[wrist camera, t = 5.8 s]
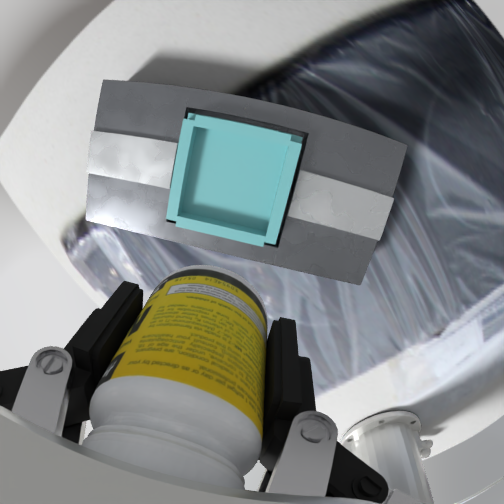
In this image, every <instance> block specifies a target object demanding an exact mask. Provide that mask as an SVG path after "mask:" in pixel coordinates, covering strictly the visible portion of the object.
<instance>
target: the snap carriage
mask: <svg viewBox="0 0 504 504" xmlns="http://www.w3.org/2000/svg"><path fill="white" fill-rule="evenodd" d="M302 138H303V137H301V136H297V135H293V134H289V133H285V132H281V131H277V130H273V129H269V128H264V127H260V126H255V125H251V124H246V123H242V122H237V121H232V120H227V119H222V118H216V117H211V116H205V115H200V114H193V113H189V114H188V118H187V119H183V123H182V128H181V133H180V138H179V143H178V149H177V154H176V160H175V165H174V171H173V177H172V183H171V189H170V195H169V202H168V209H167V216H166V219H169V220H173V221H176V227H181V228H185V229H189V230H193V231H198V232H202V233H206V234H210V235H215V236H219V237H223V238H227V239H232V240H236V241H240V242H244V243H248V244H253V245H257V246H261V247H263V245H264V242H266V243H271V244H276V240H277V237H278V233H279V229H280V225H281V222H282V218H283V214H284V211H285V207H286V203H287V199H288V196H289V192H290V188H291V184H292V181H293V177H294V173H295V169H296V165H297V161H298V158H299V154H300V150H301V146H302V144H301V142H302Z"/></svg>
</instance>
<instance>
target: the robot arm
mask: <svg viewBox="0 0 504 504" xmlns="http://www.w3.org/2000/svg"><path fill="white" fill-rule="evenodd" d="M142 309H143V290H142V289H139V285H138V284H134V283H131V282H127V281H124V282H123V283H122V284H121V285H120V286H119V287H118V289H117V290H116V291H115V292H114V293H113V295H112V296H111V297H110V298H109V300H108V301H107V302H106V303H105V305H104V306H103V307H102V308H101V309H99V308H97V309H95V310H94V311H93V312H92V314H91V315H90V316H89V318H87V320H86V321H85V322H84V323H83V325H82V326H81V327H80V328H79V330H78V331H77V332H76V334H75V335H74V336H73V338H72V339H71V340H70V341H69V343H68V344H67V345H66V347H65V348H64V349H63V348H59V347H53V346H50V347H44V348H42V349H40V350H38V351H37V352H36V353H35V354H34V355H33V357H32V359H31V361H30V363H29V366H25V367H20V368H14V369H9V370H5V371H0V504H434V501H433V497H432V494H431V490H430V487H429V483H428V480H427V476H426V473H425V469H424V466H423V463H422V459H421V458H427V457H429V455H430V452H431V450H430V448H431V447H432V445H433V441H432V440H424V441H422V440H421V439H420V436H419V433H420V431H421V423H420V420H419V418H418V417H417V416H416V415H415V414H413V413H411V412H407V411H391V412H386V413H381V414H378V415H375V416H372V417H370V418H367V419H365V420H363V421H361V422H359V423H358V424H356V425H355V426H353V427H352V428H351V429H350V430H349V431H347V432H346V434H345V435H344V436H343V438H342V440H341V444H340V443H339V442H338V441H337V436H338V429H337V427H336V424H335V423H334V422H333V420H332V419H331V418H329V417H328V416H327V415H325V414H323V413H321V412H317V411H316V406H315V397H314V388H313V379H312V371H311V363H310V359H309V358H307V357H301V356H299V355H298V344H297V332H296V322H295V320H292V319H287V318H281V317H280V319H279V321H276V320H274V321H273V323H272V326H271V330H270V333H269V336H268V339H267V346H266V367H265V390H264V414H263V437H262V446H261V453H260V456H259V459H258V460H260V463H261V464H262V465H263V466H264V467H265V468H266V470H265V472H264V474H263V477H262V480H261V482H260V485H259V487H258V489H257V491H249V490H242V489H235V488H229V487H223V486H217V485H212V484H207V483H202V482H197V481H192V480H188V479H184V478H179V477H175V476H171V475H167V474H164V473H160V472H156V471H153V470H149V469H146V468H143V467H139V466H136V465H133V464H130V463H127V462H124V461H121V460H118V459H115V458H112V457H110V456H107V455H104V454H102V453H99V452H96V451H94V450H91V449H89V448H86V447H84V446H81V445H82V442H83V441H84V434H85V428H86V421H87V420H90V415H89V408H90V402H91V398H92V396H93V394H94V392H95V389H96V387H97V385H98V383H99V381H100V380H101V378H102V377H103V375H104V373H105V372H106V370H107V367H108V365H109V364H110V362H111V361H112V359H113V357H114V356H115V354H116V352H117V351H118V349H119V347H120V346H121V344H122V342H123V340H124V339H125V337H126V335H127V333H128V331H129V330H130V328H131V327H132V325H133V324H134V322H135V320H136V319H137V317H138V316H139V314H140V312H141V311H142Z"/></svg>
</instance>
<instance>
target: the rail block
mask: <svg viewBox="0 0 504 504" xmlns="http://www.w3.org/2000/svg"><path fill="white" fill-rule="evenodd" d="M189 113H193V114H200V115H205V116H211V117H216V118H222V119H227V120H232V121H237V122H242V123H246V124H251V125H255V126H260V127H264V128H269V129H273V130H277V131H281V132H285V133H289V134H293V135H297V136H301V137H303V138H302V142H301V144H302V146H301V150H300V154H299V158H298V161H297V165H296V169H295V173H294V177H293V181H292V184H291V188H290V192H289V196H288V199H287V203H286V207H285V211H284V214H283V218H282V222H281V225H280V229H279V233H278V237H277V240H276V244H271V243H266V242H264V245H263V247H261V246H257V245H253V244H248V243H244V242H240V241H236V240H232V239H227V238H223V237H219V236H215V235H210V234H206V233H202V232H198V231H193V230H189V229H185V228H181V227H176V221H173V220H169V219H166V216H167V209H168V202H169V195H170V189H171V183H172V177H173V171H174V165H175V160H176V154H177V149H178V143H179V138H180V133H181V128H182V123H183V119H187V118H188V114H189ZM407 146H408V145H406V144H404V143H401V142H398V141H396V140H393V139H391V138H388V137H385V136H382V135H380V134H377V133H374V132H371V131H368V130H365V129H362V128H359V127H356V126H353V125H350V124H347V123H344V122H341V121H338V120H334V119H331V118H328V117H324V116H321V115H317V114H314V113H310V112H307V111H303V110H299V109H295V108H291V107H287V106H283V105H279V104H275V103H271V102H266V101H262V100H257V99H252V98H248V97H243V96H238V95H232V94H227V93H221V92H215V91H209V90H203V89H196V88H189V87H182V86H174V85H166V84H156V83H146V82H134V81H119V80H103V83H102V88H101V93H100V98H99V103H98V109H97V115H96V121H95V127H94V131H91V138H90V146H89V154H88V163H87V173H89V177H88V190H87V205H86V220H88V221H92V222H96V223H100V224H104V225H108V226H112V227H116V228H120V229H124V230H129V231H133V232H137V233H141V234H145V235H149V236H153V237H157V238H161V239H165V240H170V241H174V242H178V243H182V244H186V245H190V246H194V247H199V248H203V249H207V250H211V251H215V252H220V253H224V254H228V255H232V256H236V257H241V258H245V259H249V260H253V261H257V262H262V263H266V264H270V265H274V266H279V267H283V268H287V269H291V270H296V271H300V272H304V273H308V274H313V275H317V276H321V277H326V278H330V279H334V280H339V281H343V282H347V283H352V284H356V285H361V283H362V280H363V278H364V275H365V273H366V270H367V267H368V265H369V262H370V260H371V257H372V254H373V252H374V249H375V246H376V244H377V241H378V240H379V241H380V238H381V236H382V233H383V230H384V227H385V224H386V221H387V218H388V215H389V213H390V210H391V207H392V203H393V200H394V198H393V194H394V191H395V187H396V184H397V181H398V178H399V174H400V171H401V167H402V164H403V160H404V157H405V153H406V150H407Z"/></svg>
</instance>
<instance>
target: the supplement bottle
mask: <svg viewBox="0 0 504 504" xmlns="http://www.w3.org/2000/svg"><path fill="white" fill-rule="evenodd" d="M266 346H267V313H266V309H265V305H264V303H263V300H262V298H261V297H260V295H259V293H258V292H257V291H256V289H255V288H254V287H253V286H252V285H251V284H250V283H249V282H248V281H246V280H245V279H244V278H242V277H241V276H239V275H238V274H236V273H234V272H232V271H229V270H227V269H224V268H220V267H216V266H209V265H194V266H188V267H184V268H181V269H178V270H176V271H174V272H172V273H170V274H169V275H168V276H166V277H165V278H164V279H163V280H162V281H161V282H160V283H159V284H158V286H157V287H156V288H155V290H154V291H153V293H152V294H151V296H150V297H149V299H148V301H147V303H146V304H145V306H144V308H143V309H142V311H141V312H140V314H139V316H138V317H137V319H136V320H135V322H134V324H133V325H132V327H131V328H130V330H129V331H128V333H127V335H126V337H125V339H124V340H123V342H122V344H121V346H120V347H119V349H118V351H117V352H116V354H115V356H114V357H113V359H112V361H111V362H110V364H109V365H108V367H107V370H106V372H105V373H104V375H103V377H102V378H101V380H100V381H99V383H98V385H97V387H96V389H95V392H94V394H93V396H92V398H91V402H90V408H89V415H90V420H91V424H92V427H93V429H94V430H92V431H91V432H90V433H89V435H88V437H87V438H85V439H84V441H83V442H82V445H81V446H84V447H86V448H89V449H91V450H94V451H96V452H99V453H102V454H104V455H107V456H110V457H112V458H115V459H118V460H121V461H124V462H127V463H130V464H133V465H136V466H139V467H143V468H146V469H149V470H153V471H156V472H160V473H164V474H167V475H171V476H175V477H179V478H184V479H188V480H192V481H197V482H202V483H207V484H212V485H217V486H223V487H229V488H235V489H242V490H245V488H244V484H245V481H244V477H243V476H244V475H246V474H247V473H248V472H249V471H250V470H251V469H252V468H253V467H254V465H255V464H256V463H257V460H258V459H259V456H260V453H261V446H262V437H263V414H264V390H265V367H266Z"/></svg>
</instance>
